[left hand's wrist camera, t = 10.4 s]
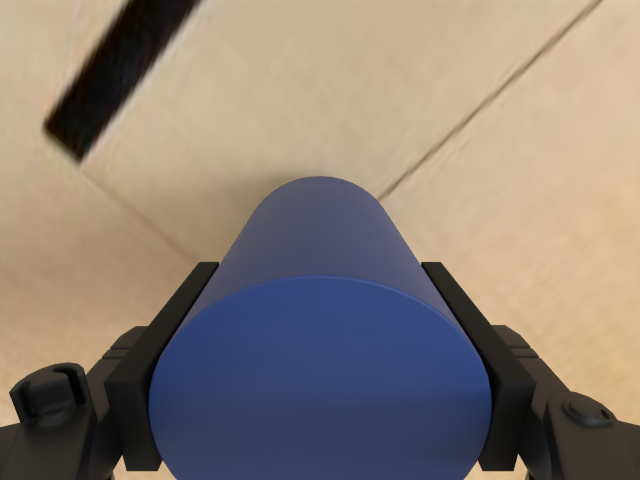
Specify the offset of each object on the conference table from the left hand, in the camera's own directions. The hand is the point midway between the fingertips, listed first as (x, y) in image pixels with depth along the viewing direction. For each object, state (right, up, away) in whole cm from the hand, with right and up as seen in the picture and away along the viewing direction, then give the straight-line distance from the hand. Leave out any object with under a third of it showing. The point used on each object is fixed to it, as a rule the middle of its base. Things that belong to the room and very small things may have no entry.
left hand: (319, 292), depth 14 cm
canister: (0, +2, +4) cm, 5 cm away
